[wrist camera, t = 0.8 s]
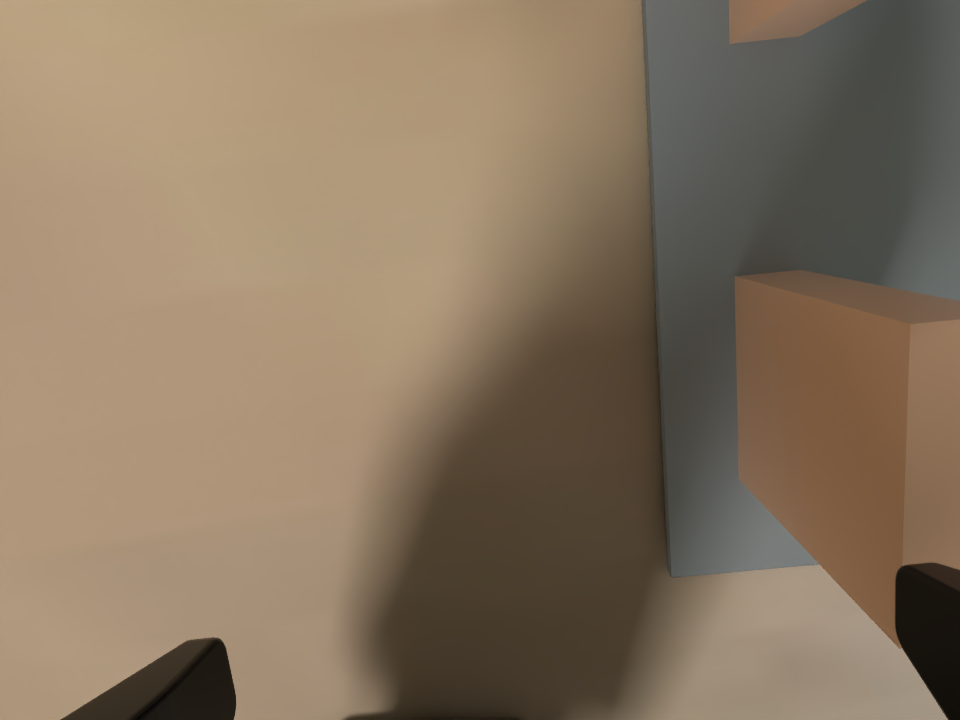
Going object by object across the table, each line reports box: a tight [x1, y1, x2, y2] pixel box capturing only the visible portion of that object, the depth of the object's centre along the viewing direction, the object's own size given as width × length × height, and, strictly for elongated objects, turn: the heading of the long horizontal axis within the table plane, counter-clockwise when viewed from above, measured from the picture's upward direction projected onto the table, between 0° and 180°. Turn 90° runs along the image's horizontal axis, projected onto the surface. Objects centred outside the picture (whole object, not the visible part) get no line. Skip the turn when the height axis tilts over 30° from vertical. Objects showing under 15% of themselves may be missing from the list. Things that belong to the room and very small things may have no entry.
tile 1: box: [734, 270, 960, 648], centre depth 16 cm, size 6×2×8 cm, turn 6°
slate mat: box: [642, 0, 960, 578], centre depth 19 cm, size 24×16×1 cm, turn 6°
